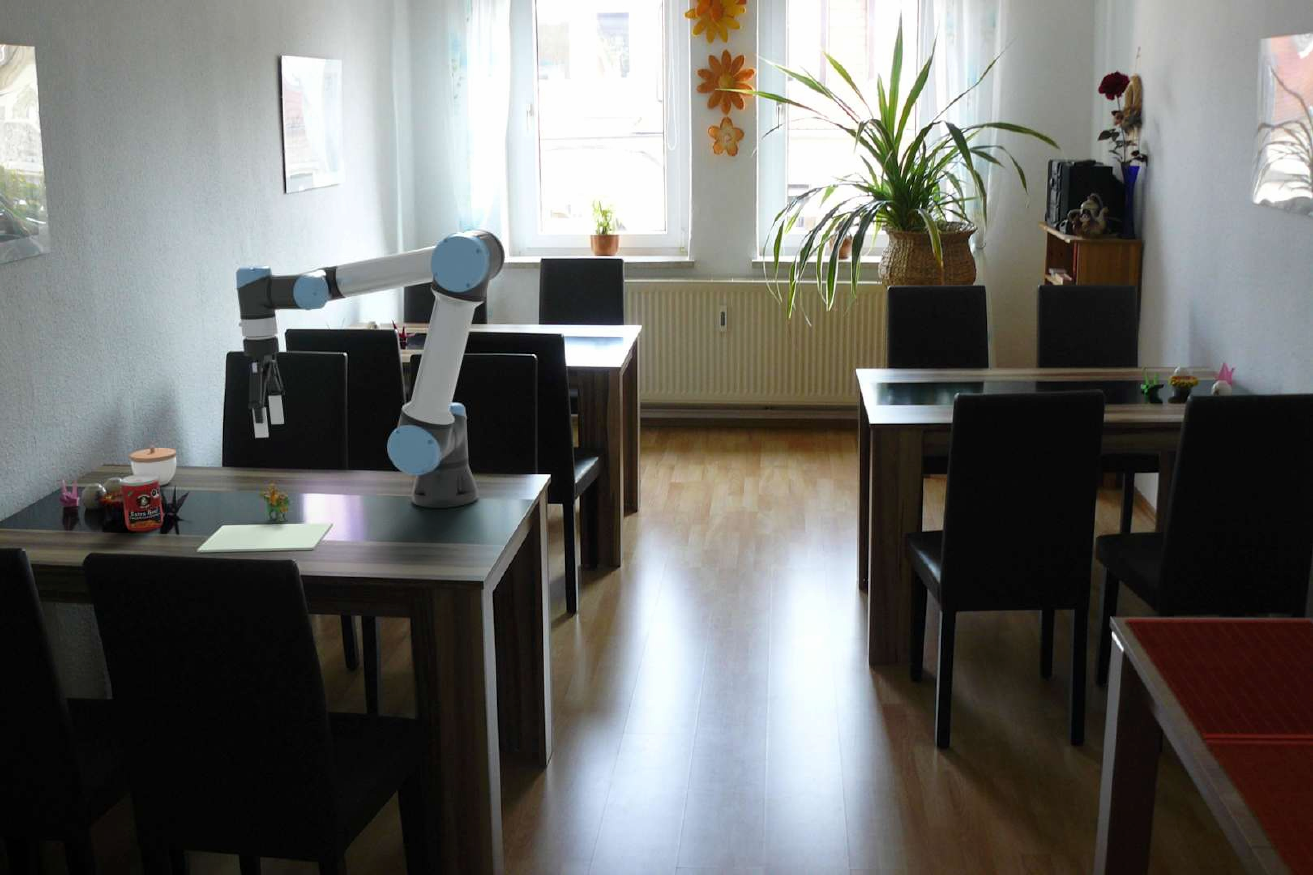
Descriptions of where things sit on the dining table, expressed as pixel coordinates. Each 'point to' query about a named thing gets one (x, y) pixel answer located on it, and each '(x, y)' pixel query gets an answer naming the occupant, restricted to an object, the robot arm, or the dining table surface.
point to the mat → (266, 537)
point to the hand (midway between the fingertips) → (270, 430)
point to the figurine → (276, 503)
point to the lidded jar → (155, 463)
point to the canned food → (142, 502)
